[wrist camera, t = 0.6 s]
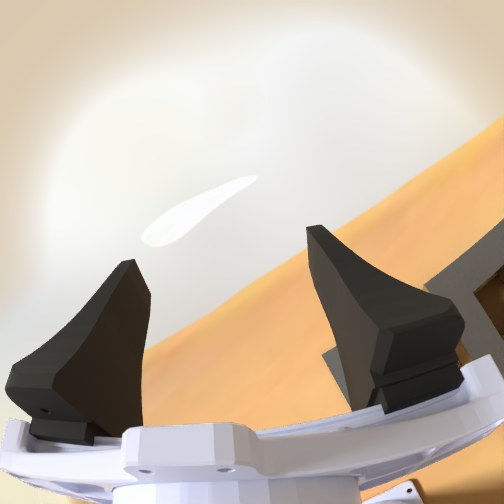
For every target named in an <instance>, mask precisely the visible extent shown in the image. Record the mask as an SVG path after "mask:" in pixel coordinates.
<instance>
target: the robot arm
mask: <svg viewBox="0 0 504 504" xmlns="http://www.w3.org/2000/svg"><path fill="white" fill-rule="evenodd" d="M306 230H307V244H308V259H309V268H310V272H311V276H312V279H313V283H314V286H315V289H316V291H317V294H318V296H319V299H320V301H321V304H322V306H323V309H324V311H325V313H326V316H327V318H328V321H329V323H330V326H331V328H332V331H333V334H334V337H335V341H336V344H337V348H338V352H339V356H340V360H341V364H342V368H343V372H344V376H345V381H346V385H347V390H348V395H349V400H350V405H351V410H352V412H350V413H346V414H342V415H338V416H333V417H329V418H324V419H320V420H315V421H310V422H305V423H300V424H295V425H289V426H283V427H277V428H271V429H264V430H257V431H253V430H251V429H250V428H248V427H247V426H246V425H242V424H237V423H232V422H213V423H201V424H187V425H167V426H143V416H142V396H141V377H142V360H143V353H144V347H145V340H146V335H147V330H148V323H149V317H150V306H151V293H150V291H149V289H148V287H147V285H146V283H145V281H144V278H143V276H142V274H141V272H140V270H139V268H138V266H137V264H136V261H135V259H131V260H126V261H122V262H121V263H120V264H119V265H118V266H117V267H116V268H115V269H114V271H113V272H112V273H111V274H110V276H109V277H108V278H107V279H106V281H105V282H104V283H103V284H102V285H101V287H100V288H99V289H98V290H97V292H96V293H95V294H94V295H93V296H92V298H91V299H90V300H89V301H88V302H87V303H86V305H85V306H84V307H83V308H82V309H81V311H80V312H79V313H78V314H77V315H76V316H75V317H74V318H73V319H72V320H71V321H70V322H69V323H68V324H67V325H66V326H65V327H64V328H62V329H61V330H60V331H59V332H58V333H57V334H56V335H55V336H53V337H52V338H51V339H50V340H49V341H47V342H46V343H45V344H44V345H42V346H41V347H40V348H38V349H37V350H36V351H34V352H33V353H31V354H30V355H28V356H27V357H25V358H23V359H22V360H20V361H19V362H17V363H15V364H14V365H13V366H12V369H11V372H10V375H9V377H8V381H7V383H6V386H5V391H6V394H7V395H8V397H9V398H10V399H11V400H12V401H13V402H14V403H15V404H16V405H17V406H19V407H20V408H21V409H22V410H24V411H25V412H26V413H27V414H28V415H30V416H31V417H32V421H31V424H30V423H29V422H26V421H22V420H16V419H8V420H7V424H6V428H5V432H4V435H3V439H2V444H1V448H0V470H2V471H4V472H6V473H8V474H9V475H11V476H13V477H15V478H17V479H19V480H21V481H23V482H25V483H27V484H29V485H31V486H33V487H35V488H39V489H42V490H46V491H50V492H53V493H57V494H61V495H65V496H68V497H72V498H76V499H80V500H85V501H89V502H94V503H98V504H424V503H423V501H422V499H421V497H420V495H419V493H418V492H417V490H416V488H415V486H414V484H413V482H412V481H410V480H407V481H404V482H402V483H400V484H399V485H397V486H395V487H393V488H391V489H389V490H387V491H385V492H383V493H381V494H379V495H376V496H374V497H372V498H370V499H368V500H366V501H363V502H362V501H361V496H360V491H364V490H367V489H370V488H373V487H376V486H379V485H381V484H384V483H387V482H390V481H392V480H395V479H398V478H400V477H403V476H405V475H408V474H410V473H413V472H415V471H417V470H420V469H422V468H424V467H427V466H429V465H431V464H433V463H435V462H438V461H440V460H442V459H444V458H446V457H448V456H450V455H452V454H454V453H456V452H458V451H460V450H462V449H464V448H466V447H468V446H470V445H472V444H474V443H476V442H478V441H480V440H481V439H483V438H485V437H487V436H488V435H489V434H491V433H492V432H493V431H494V430H495V429H496V428H497V427H499V426H500V425H501V424H502V423H503V422H504V379H503V377H502V375H501V373H500V371H499V369H498V367H497V366H496V364H495V362H494V360H493V358H492V357H491V355H489V354H488V355H485V356H483V357H481V358H479V359H476V360H474V361H472V362H469V363H468V364H466V365H464V366H463V367H462V368H461V369H459V367H458V365H457V363H456V362H457V361H458V356H457V354H456V352H455V349H456V347H457V345H458V343H459V341H460V339H461V337H462V335H463V332H464V329H465V320H464V319H463V317H462V316H461V314H460V312H459V310H458V309H457V307H456V306H455V304H454V303H453V302H452V301H451V299H448V298H445V297H442V296H438V295H435V294H431V293H428V292H426V291H423V290H420V289H418V288H415V287H413V286H410V285H408V284H406V283H403V282H401V281H399V280H397V279H395V278H393V277H391V276H389V275H387V274H386V273H384V272H382V271H381V270H379V269H377V268H376V267H374V266H372V265H371V264H369V263H368V262H366V261H365V260H363V259H362V258H361V257H359V256H358V255H357V254H355V253H354V252H353V251H352V250H350V249H349V248H348V247H347V246H345V245H344V244H343V243H342V242H341V241H339V240H338V239H337V238H336V237H335V236H334V235H333V234H331V233H330V232H329V231H328V230H327V229H326V228H325V227H323V226H322V225H316V226H310V227H306ZM409 488H412V489H413V490H412V491H411V492H407V490H408V489H409Z"/></svg>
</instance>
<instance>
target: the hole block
mask: <svg viewBox="0 0 504 504" xmlns="http://www.w3.org/2000/svg"><path fill="white" fill-rule="evenodd" d="M496 275H498V276H499V277H500V279H501V280H502V282H503V283H504V219H503V220H502V221H500V222H499V223H498V224H497V225H496V226H495V227H494V228H493V229H492V230H490V231H489V232H488V233H487V234H486V235H485V236H484V237H482V238H481V239H480V240H479V241H478V242H477V243H475V244H474V245H473V246H472V247H471V248H470V249H468V250H467V251H466V252H465V253H464V254H462V255H461V256H460V257H459V258H457V259H456V260H455V261H454V262H452V263H451V264H450V265H449V266H447V267H446V268H445V269H444V270H442V271H441V272H440V273H439V274H437V275H436V276H435V277H433V278H432V279H431V280H429V281H428V282H427V283H425V284H424V287H423V291H426V292H428V293H431V294H435V295H438V296H442V297H445V298H448V299H451V301H452V302H453V303H454V304H455V306H456V307H457V309H458V310H459V312H460V314H461V316H462V317H463V319H464V320H465V329H464V332H463V335H462V337H461V339H460V341H459V343H458V345H457V347H456V349H455V352H456V354H457V356H458V359H459V361H460V362H461V364H462V366H464V365H466V364H468V363H469V362H472V361H474V360H476V359H479V358H481V357H483V356H485V355H488V354H489V355H491V357H492V358H493V360H494V362H495V364H496V366H497V367H498V369H499V371H500V373H501V375H502V377H503V379H504V334H503V335H502V336H500V334H499V333H498V331H497V329H496V328H495V326H494V325H493V323H492V321H491V320H490V318H489V317H488V315H487V313H486V312H485V310H484V309H483V307H482V306H481V304H480V303H479V301H478V300H477V298H476V297H475V295H474V294H475V293H477V292H478V291H479V290H480V289H481V288H482V287H484V286H485V285H486V284H487V283H488V282H489V281H490V280H491V279H493V278H494V277H495V276H496Z"/></svg>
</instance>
